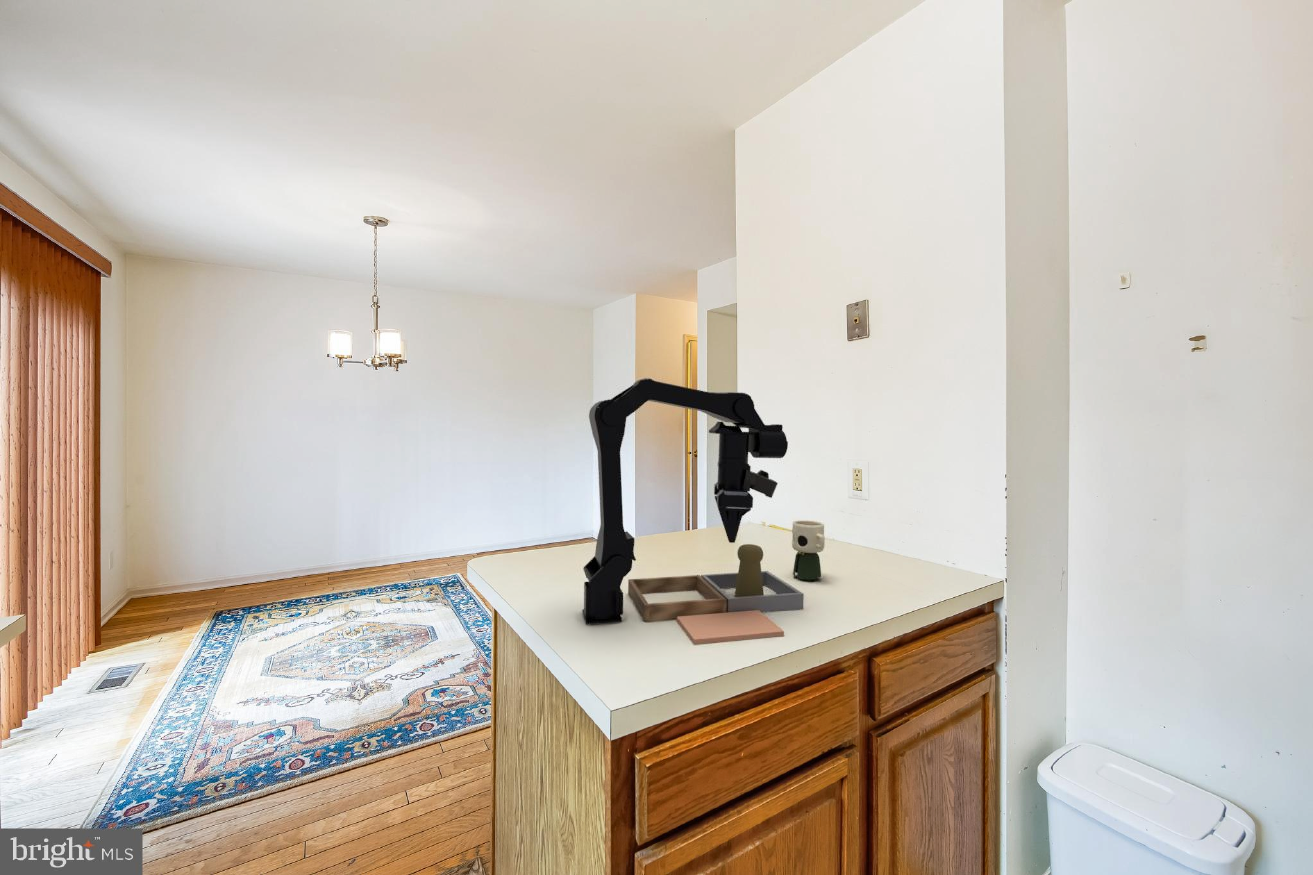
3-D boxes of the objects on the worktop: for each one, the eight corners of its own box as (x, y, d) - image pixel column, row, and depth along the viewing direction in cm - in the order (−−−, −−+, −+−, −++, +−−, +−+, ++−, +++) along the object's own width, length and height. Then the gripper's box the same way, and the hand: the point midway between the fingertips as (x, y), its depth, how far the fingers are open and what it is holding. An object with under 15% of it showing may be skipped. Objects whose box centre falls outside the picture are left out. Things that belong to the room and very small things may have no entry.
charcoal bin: (728, 615, 96) (728, 599, 96) (700, 588, 112) (701, 574, 111) (803, 608, 100) (803, 593, 100) (767, 584, 115) (767, 570, 115)
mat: (694, 644, 84) (694, 639, 84) (676, 620, 93) (676, 616, 93) (784, 635, 87) (784, 631, 87) (758, 614, 97) (758, 609, 97)
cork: (764, 604, 102) (765, 549, 102) (733, 602, 103) (734, 547, 103) (764, 594, 108) (765, 542, 108) (735, 592, 109) (736, 540, 109)
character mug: (780, 573, 124) (781, 519, 123) (804, 570, 127) (805, 517, 126) (809, 587, 114) (810, 528, 113) (835, 583, 116) (836, 526, 116)
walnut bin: (644, 622, 92) (644, 605, 92) (628, 593, 108) (628, 579, 108) (726, 615, 96) (726, 599, 96) (699, 588, 111) (699, 574, 111)
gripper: (783, 462, 91) (779, 550, 91) (768, 456, 109) (765, 529, 110) (719, 460, 91) (716, 547, 92) (715, 454, 110) (712, 527, 110)
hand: (730, 537), depth 101 cm, fingers open, 9 cm apart
